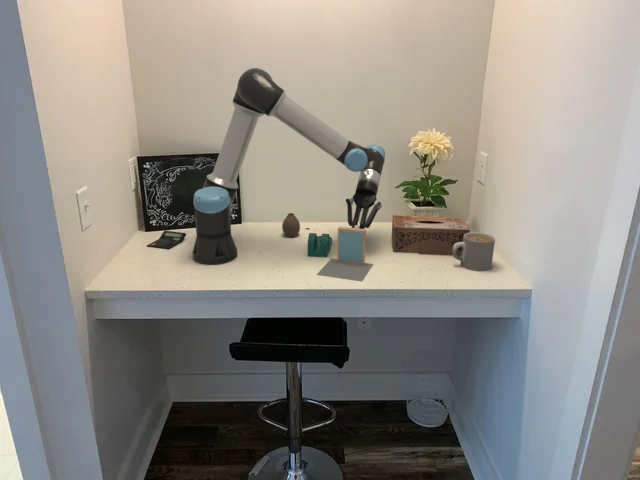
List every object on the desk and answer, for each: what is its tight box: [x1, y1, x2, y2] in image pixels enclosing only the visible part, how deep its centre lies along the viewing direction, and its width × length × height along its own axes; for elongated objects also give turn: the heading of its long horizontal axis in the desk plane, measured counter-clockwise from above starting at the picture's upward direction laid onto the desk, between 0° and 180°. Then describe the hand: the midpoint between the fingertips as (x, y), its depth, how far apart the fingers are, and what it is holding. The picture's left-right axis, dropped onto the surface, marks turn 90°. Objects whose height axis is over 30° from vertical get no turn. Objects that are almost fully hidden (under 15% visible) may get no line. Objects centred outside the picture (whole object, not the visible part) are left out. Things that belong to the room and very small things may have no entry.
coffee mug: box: [451, 231, 496, 272], centre depth 167 cm, size 13×10×10 cm
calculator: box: [146, 230, 187, 251], centre depth 187 cm, size 9×12×3 cm
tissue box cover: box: [391, 214, 471, 257], centre depth 183 cm, size 26×14×10 cm, turn 85°
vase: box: [281, 212, 301, 238], centre depth 195 cm, size 7×7×9 cm
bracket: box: [307, 232, 333, 258], centre depth 181 cm, size 18×7×8 cm, turn 172°
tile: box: [336, 226, 367, 265], centre depth 167 cm, size 9×2×12 cm, turn 71°
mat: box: [316, 257, 375, 282], centre depth 164 cm, size 15×15×1 cm
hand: (353, 244), depth 170 cm, fingers closed
